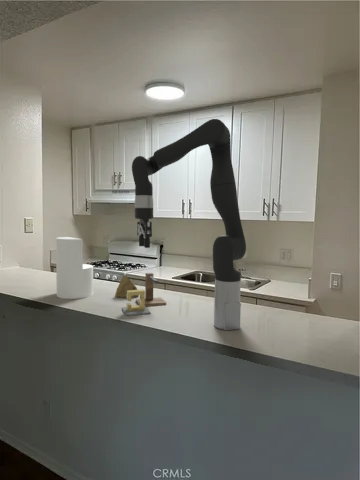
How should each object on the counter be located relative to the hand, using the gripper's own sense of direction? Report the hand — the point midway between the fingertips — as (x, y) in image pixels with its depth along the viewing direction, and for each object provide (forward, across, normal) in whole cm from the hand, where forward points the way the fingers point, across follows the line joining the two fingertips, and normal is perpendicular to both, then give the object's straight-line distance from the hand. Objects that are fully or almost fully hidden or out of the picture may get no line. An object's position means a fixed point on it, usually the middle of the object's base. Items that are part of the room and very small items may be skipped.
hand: (144, 246), depth 135 cm
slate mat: (+27, +2, +3) cm, 27 cm away
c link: (+26, +2, +4) cm, 26 cm away
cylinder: (+26, +38, +25) cm, 53 cm away
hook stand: (+27, +9, -6) cm, 29 cm away
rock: (+26, +27, +2) cm, 38 cm away
